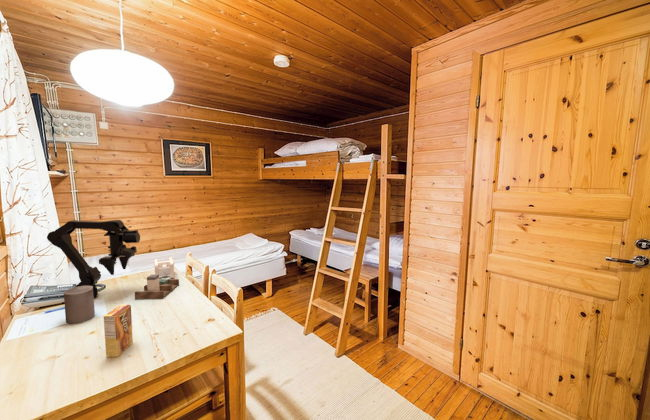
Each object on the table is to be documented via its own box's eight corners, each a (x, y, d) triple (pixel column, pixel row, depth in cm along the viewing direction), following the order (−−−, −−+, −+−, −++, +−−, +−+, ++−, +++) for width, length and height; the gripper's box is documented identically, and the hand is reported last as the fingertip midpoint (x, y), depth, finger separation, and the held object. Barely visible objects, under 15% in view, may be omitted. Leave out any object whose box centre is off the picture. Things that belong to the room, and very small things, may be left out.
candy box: (122, 342, 103) (119, 304, 101) (133, 342, 103) (131, 304, 101) (105, 357, 94) (102, 316, 92) (118, 357, 94) (115, 315, 93)
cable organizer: (155, 275, 176) (154, 258, 175) (173, 272, 182) (172, 256, 181) (155, 282, 163) (154, 264, 162) (175, 279, 169) (174, 261, 168)
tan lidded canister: (155, 295, 143) (154, 277, 142) (147, 295, 143) (146, 277, 142) (159, 292, 147) (159, 274, 146) (152, 292, 147) (151, 274, 146)
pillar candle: (62, 320, 118) (58, 288, 116) (89, 311, 127) (86, 281, 125) (71, 326, 114) (68, 293, 112) (99, 316, 122) (97, 285, 120)
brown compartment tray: (134, 299, 140) (134, 290, 139) (154, 286, 158) (154, 277, 158) (162, 299, 141) (162, 289, 140) (179, 285, 159) (178, 277, 159)
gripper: (120, 247, 134) (122, 277, 135) (142, 239, 152) (144, 266, 154) (96, 247, 133) (99, 278, 134) (122, 239, 151) (124, 266, 153)
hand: (118, 271), depth 144 cm, fingers open, 9 cm apart
